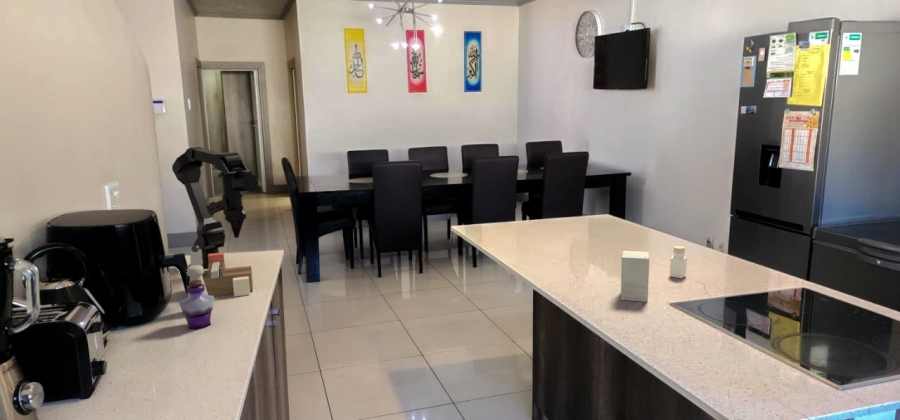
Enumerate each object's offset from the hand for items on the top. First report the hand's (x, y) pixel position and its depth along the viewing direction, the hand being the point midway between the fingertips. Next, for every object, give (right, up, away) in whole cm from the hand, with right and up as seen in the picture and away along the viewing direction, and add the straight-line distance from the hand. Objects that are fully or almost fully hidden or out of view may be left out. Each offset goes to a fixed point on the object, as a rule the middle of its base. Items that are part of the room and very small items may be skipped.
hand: (236, 237), depth 193 cm
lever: (-3, -10, -22) cm, 24 cm away
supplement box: (+124, -16, -28) cm, 128 cm away
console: (+1, -16, -16) cm, 22 cm away
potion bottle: (+6, -21, -42) cm, 48 cm away
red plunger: (0, -11, -17) cm, 20 cm away
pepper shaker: (+143, -12, -11) cm, 144 cm away
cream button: (+9, -16, -19) cm, 27 cm away
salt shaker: (+2, -19, -32) cm, 38 cm away
